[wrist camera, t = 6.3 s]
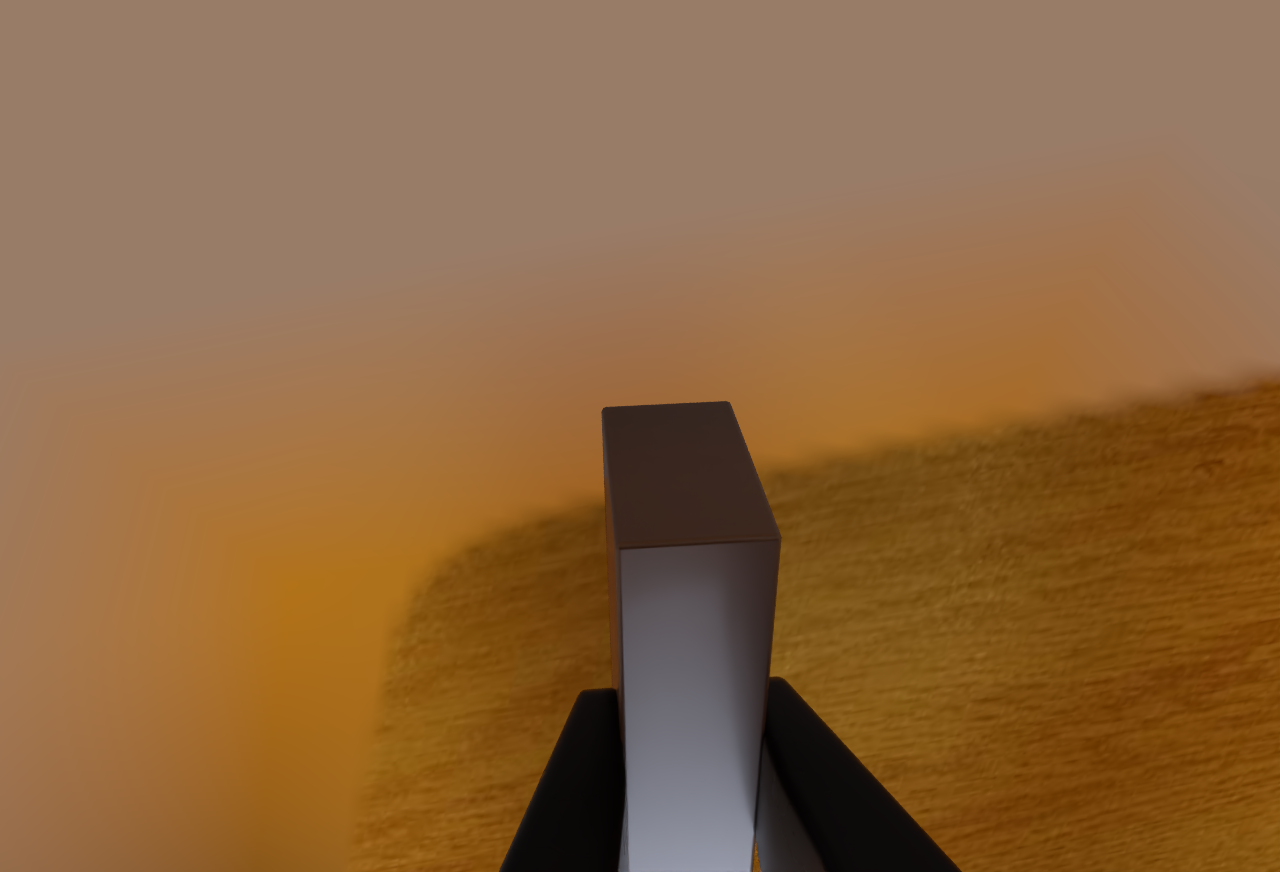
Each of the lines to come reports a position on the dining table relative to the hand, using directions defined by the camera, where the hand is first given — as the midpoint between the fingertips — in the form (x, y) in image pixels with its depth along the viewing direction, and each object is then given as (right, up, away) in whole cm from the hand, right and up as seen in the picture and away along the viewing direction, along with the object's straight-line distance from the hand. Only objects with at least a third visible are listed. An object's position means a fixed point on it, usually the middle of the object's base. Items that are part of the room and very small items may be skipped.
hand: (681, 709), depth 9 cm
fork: (0, -3, +3) cm, 4 cm away
